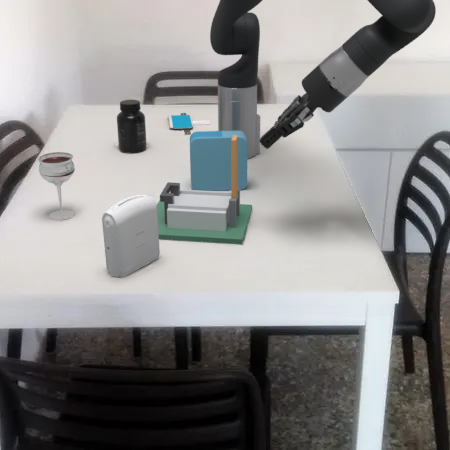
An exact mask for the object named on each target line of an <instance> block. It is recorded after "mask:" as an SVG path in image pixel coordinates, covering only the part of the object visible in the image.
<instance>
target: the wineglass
mask: <svg viewBox="0 0 450 450" xmlns="http://www.w3.org/2000/svg"><path fill="white" fill-rule="evenodd" d="M73 158H74V155H73V154H71V153H69V152H65V151H54V152H49V153H45V154H41V155H40V156H38V158H37V161H38V162H39V164H38V171H39V172H38V173H39V175H40V177H41V178H42V179H43V180H45V181H46V182H47V183H49V184H52V185H54V186H56V191H57V197H58V204H59V210H56V211H53V212H51V213H49V215H48V217H49V219H51V220H54V221H64V220H69V219H71V218H73V217H74V216H75V215H76V214H75V212H74V211H72V210H69V209H63V199H62V185H63V184H64V183H66V182H68V181H69V180H70V179H71V178H72V177H73V175H74V174H75V170H76V168H75V164H74V161H73Z"/></svg>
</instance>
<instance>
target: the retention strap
mask: <svg viewBox="0 0 450 450" xmlns="http://www.w3.org/2000/svg"><path fill="white" fill-rule="evenodd" d="M230 192H231V198H234V199H236V203H237V200H238V197H239V195H238V135H233V137H232V140H231V190H230Z"/></svg>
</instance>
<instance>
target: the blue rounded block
mask: <svg viewBox="0 0 450 450" xmlns="http://www.w3.org/2000/svg"><path fill="white" fill-rule="evenodd" d="M233 135H238V188H240V191H242V190H244V189H246V187H247V185H248V158H247V139H246V136H245V134H244V133H243V132H242V131H218V130H213V131H212V130H209V131H208V130H206V131H201V130H200V131H194V132H192V133H191V134H190V136H189V163H190V165H189V166H190V167H189V168H190V169H189V170H190V187H191V188H192V190H200V191H220V192H227V191H231V140H232V137H233Z"/></svg>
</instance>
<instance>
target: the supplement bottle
mask: <svg viewBox="0 0 450 450" xmlns="http://www.w3.org/2000/svg"><path fill="white" fill-rule="evenodd" d="M119 110H120V112H119V113H118V114H117V115H116V125H117V140H118V141H117V142H118V150H119V151H120V152H121V153H124V154H138V153H142V152H144V151H146V149H147V129H146V127H147V126H146V115H145V114H144V113H143V112H142V111H140V110H141V102H140V100H138V99H125V100H121V101H120V102H119Z"/></svg>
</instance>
